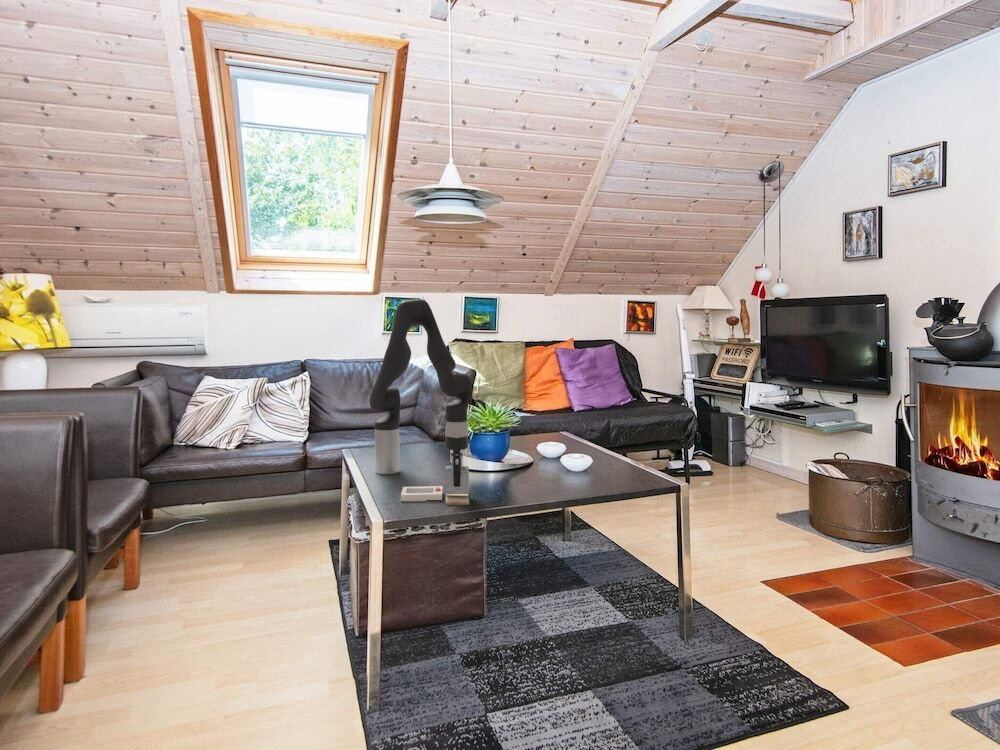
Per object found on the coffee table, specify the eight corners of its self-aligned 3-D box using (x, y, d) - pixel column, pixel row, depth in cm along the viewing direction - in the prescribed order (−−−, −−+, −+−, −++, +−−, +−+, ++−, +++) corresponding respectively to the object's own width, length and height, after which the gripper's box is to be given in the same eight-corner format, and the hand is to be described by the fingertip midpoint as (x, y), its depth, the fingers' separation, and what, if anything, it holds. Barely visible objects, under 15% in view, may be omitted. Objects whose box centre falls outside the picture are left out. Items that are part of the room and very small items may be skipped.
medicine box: (469, 490, 219) (468, 465, 218) (468, 494, 214) (468, 469, 213) (445, 490, 219) (445, 465, 218) (444, 494, 214) (444, 468, 213)
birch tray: (445, 493, 223) (445, 490, 223) (467, 492, 224) (467, 490, 224) (445, 505, 209) (445, 502, 209) (469, 504, 210) (469, 502, 210)
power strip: (404, 486, 231) (404, 478, 231) (442, 485, 232) (442, 478, 232) (401, 501, 213) (400, 493, 213) (442, 500, 214) (442, 492, 214)
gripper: (445, 430, 221) (445, 479, 223) (445, 438, 207) (445, 490, 209) (467, 430, 222) (467, 478, 223) (468, 438, 208) (468, 490, 209)
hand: (456, 484), depth 216 cm, fingers closed on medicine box, 4 cm apart
